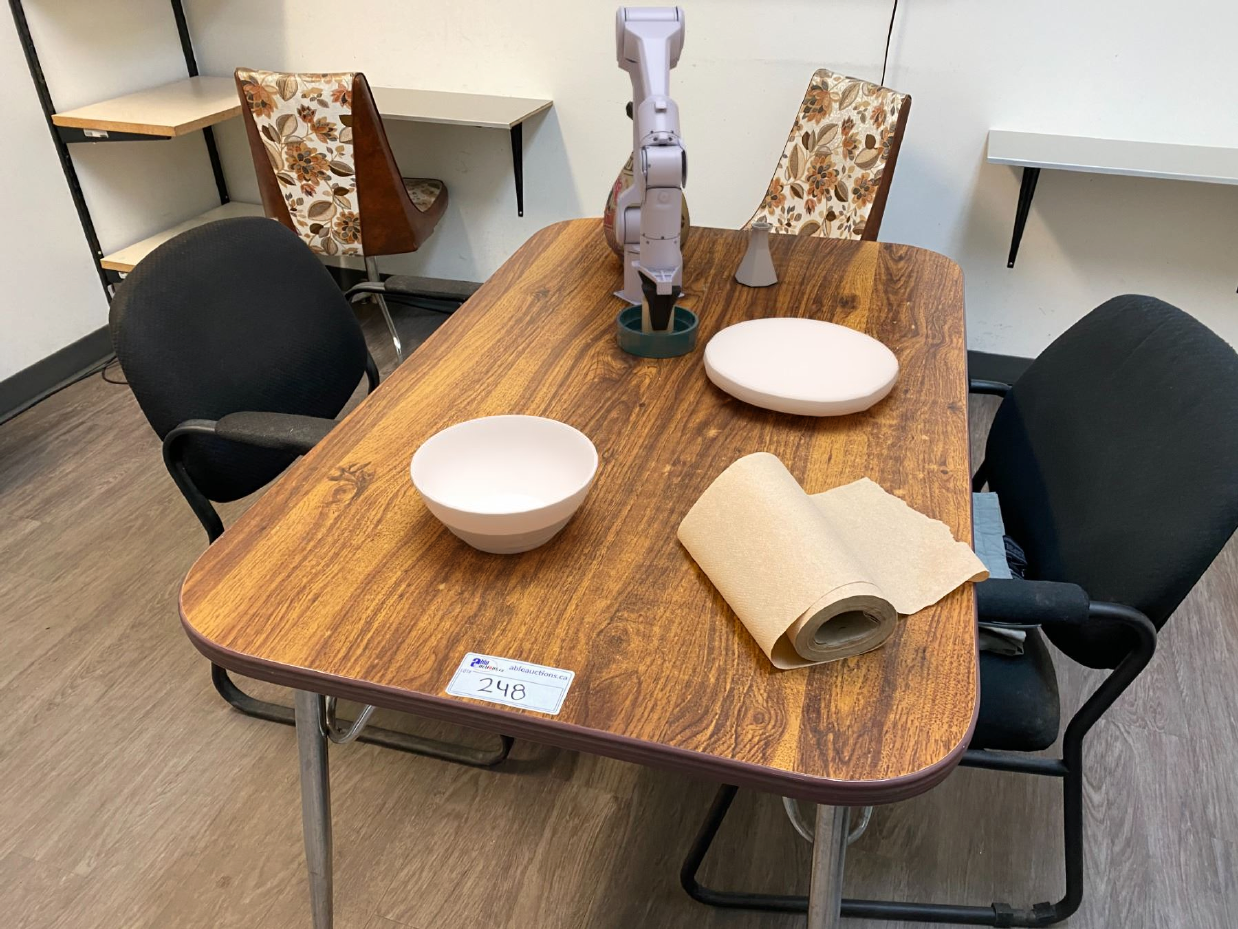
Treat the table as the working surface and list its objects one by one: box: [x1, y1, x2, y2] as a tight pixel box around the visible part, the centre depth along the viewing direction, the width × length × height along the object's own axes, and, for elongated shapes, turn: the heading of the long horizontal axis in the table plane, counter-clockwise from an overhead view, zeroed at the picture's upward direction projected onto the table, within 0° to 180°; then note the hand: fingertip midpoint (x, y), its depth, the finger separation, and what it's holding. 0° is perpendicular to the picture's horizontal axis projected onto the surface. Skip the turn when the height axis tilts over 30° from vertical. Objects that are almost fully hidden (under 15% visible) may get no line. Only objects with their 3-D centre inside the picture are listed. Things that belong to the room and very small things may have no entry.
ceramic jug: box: [602, 100, 691, 266], centre depth 158 cm, size 17×15×30 cm
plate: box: [702, 317, 900, 417], centre depth 127 cm, size 28×6×27 cm
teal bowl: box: [616, 304, 700, 359], centre depth 137 cm, size 12×12×4 cm
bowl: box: [409, 414, 599, 555], centre depth 97 cm, size 19×20×8 cm
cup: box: [642, 296, 674, 334], centre depth 136 cm, size 5×5×5 cm
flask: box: [734, 221, 778, 287], centre depth 159 cm, size 7×7×10 cm
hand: (657, 322), depth 137 cm, fingers closed on cup, 5 cm apart
